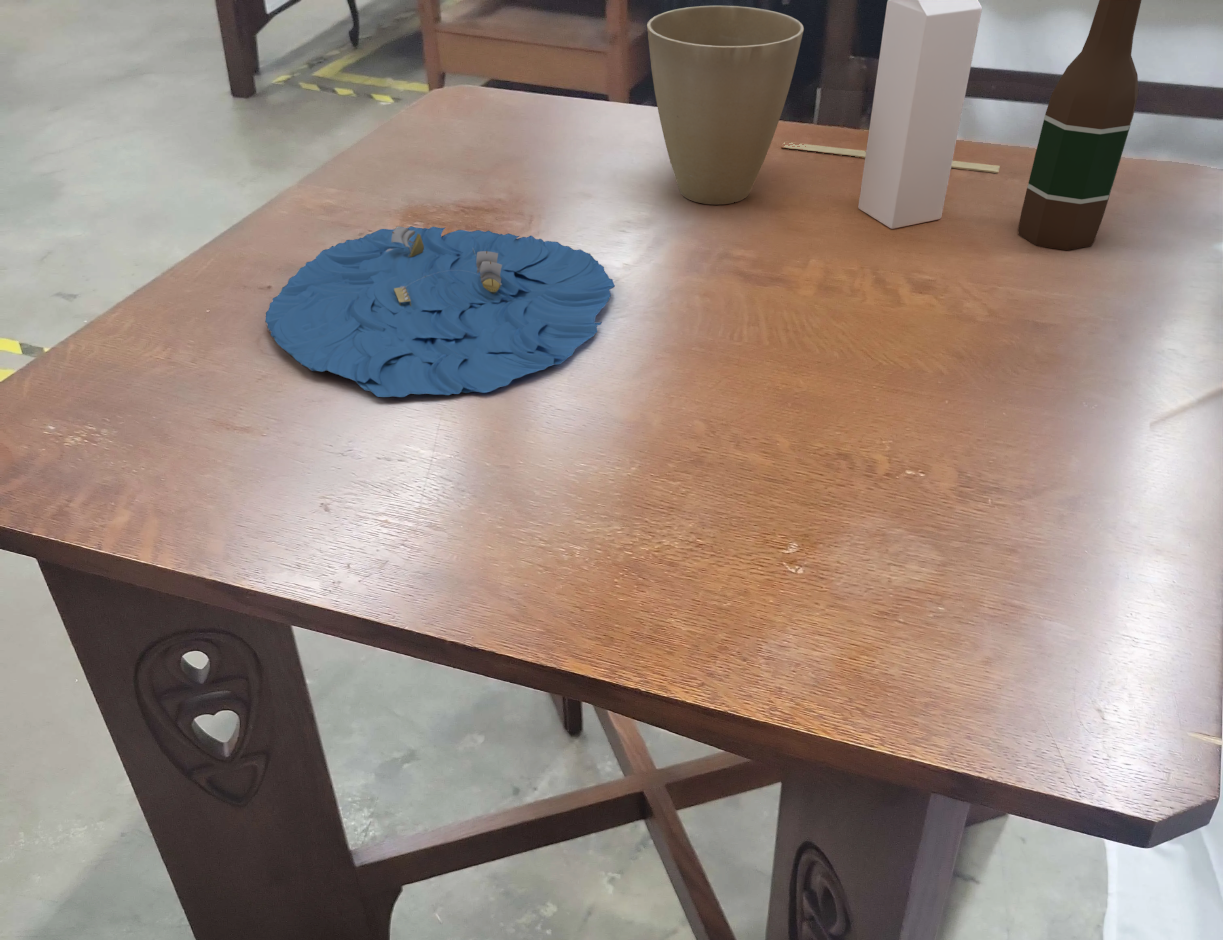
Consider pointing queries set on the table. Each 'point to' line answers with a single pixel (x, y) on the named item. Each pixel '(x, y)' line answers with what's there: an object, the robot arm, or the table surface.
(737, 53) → the plant pot
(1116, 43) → the beer bottle
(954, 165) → the chopstick
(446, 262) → the blue crumpled disc
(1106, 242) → the table surface
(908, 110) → the milk
